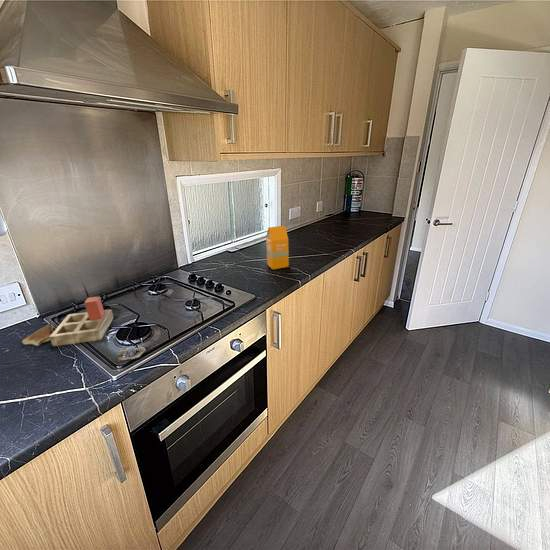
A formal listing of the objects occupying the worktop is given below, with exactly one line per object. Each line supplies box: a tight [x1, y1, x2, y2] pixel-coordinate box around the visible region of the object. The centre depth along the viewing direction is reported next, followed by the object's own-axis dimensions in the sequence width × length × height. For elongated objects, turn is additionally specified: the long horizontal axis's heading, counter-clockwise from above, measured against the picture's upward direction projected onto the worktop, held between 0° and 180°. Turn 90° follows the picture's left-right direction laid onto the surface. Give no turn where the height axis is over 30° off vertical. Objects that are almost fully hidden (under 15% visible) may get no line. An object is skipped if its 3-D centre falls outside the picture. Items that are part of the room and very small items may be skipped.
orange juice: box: [265, 225, 290, 270], centre depth 144 cm, size 8×9×20 cm
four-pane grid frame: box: [49, 308, 114, 347], centre depth 97 cm, size 14×14×4 cm
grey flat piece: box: [115, 346, 147, 362], centre depth 85 cm, size 7×8×2 cm
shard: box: [21, 321, 54, 347], centre depth 95 cm, size 11×8×2 cm
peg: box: [83, 296, 105, 320], centre depth 99 cm, size 4×4×10 cm
